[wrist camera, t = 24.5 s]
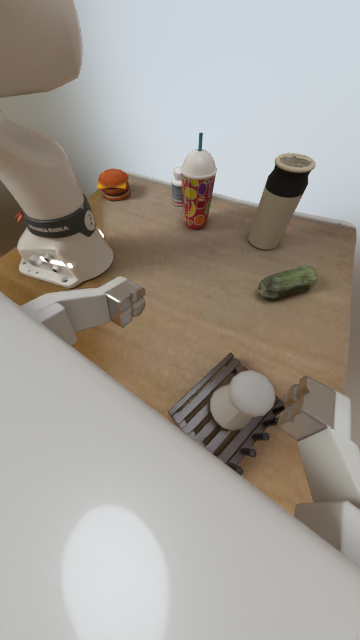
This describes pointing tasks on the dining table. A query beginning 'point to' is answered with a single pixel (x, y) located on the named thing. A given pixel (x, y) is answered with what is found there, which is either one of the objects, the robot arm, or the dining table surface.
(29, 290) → the dining table surface
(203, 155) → the smoothie
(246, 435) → the drying rack
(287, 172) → the travel mug
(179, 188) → the pill bottle
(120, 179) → the hamburger
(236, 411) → the salt shaker
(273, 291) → the vegetable
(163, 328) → the dining table surface
